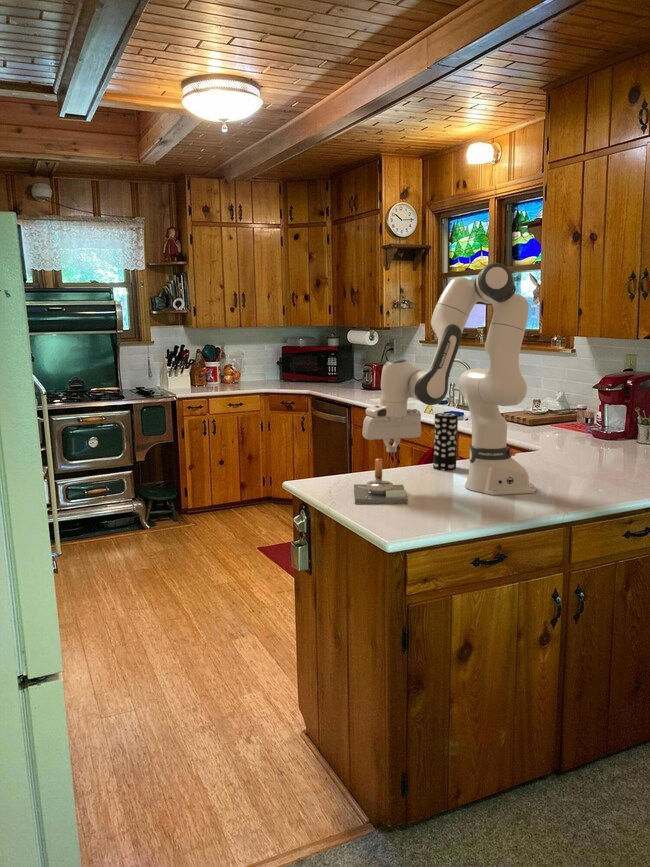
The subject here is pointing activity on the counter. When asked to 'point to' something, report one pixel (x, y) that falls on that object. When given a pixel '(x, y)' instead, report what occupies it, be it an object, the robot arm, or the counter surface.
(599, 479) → the counter surface
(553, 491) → the counter surface
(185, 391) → the counter surface
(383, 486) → the copper silver knob
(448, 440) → the spotted tube
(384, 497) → the plate
